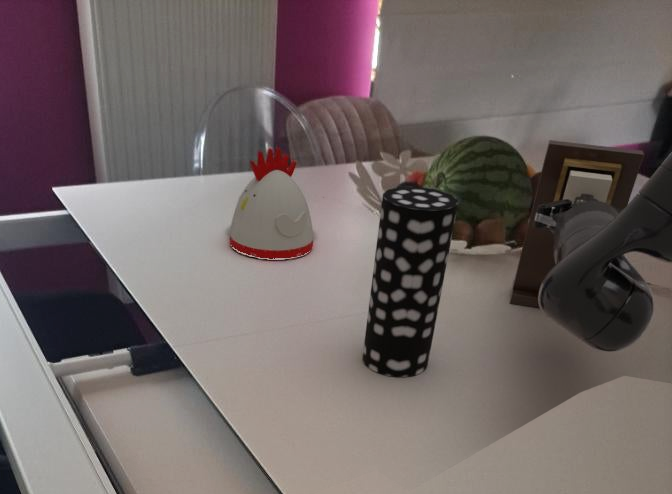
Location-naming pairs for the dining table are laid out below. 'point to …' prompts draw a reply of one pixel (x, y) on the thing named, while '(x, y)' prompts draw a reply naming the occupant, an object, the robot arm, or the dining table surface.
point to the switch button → (587, 185)
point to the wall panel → (551, 188)
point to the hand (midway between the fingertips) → (584, 202)
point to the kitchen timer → (272, 212)
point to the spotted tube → (408, 279)
